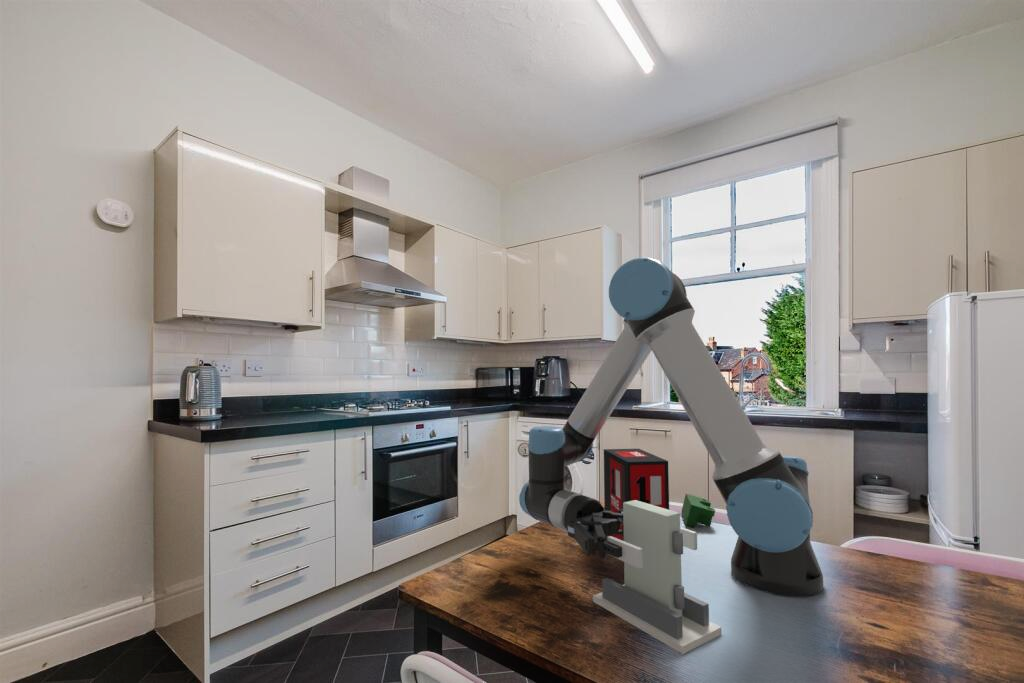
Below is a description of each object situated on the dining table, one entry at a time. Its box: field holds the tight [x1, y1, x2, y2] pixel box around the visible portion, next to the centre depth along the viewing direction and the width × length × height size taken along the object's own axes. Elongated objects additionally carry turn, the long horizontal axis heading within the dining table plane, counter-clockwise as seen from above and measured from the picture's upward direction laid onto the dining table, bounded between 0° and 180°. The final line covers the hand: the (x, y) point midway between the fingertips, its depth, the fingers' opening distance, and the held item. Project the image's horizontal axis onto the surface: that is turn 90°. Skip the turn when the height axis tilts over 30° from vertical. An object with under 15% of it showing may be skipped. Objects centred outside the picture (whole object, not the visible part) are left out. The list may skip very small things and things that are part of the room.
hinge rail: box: [592, 577, 723, 655], centre depth 75 cm, size 18×9×4 cm, turn 33°
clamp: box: [681, 493, 716, 528], centre depth 123 cm, size 12×6×9 cm, turn 161°
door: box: [623, 500, 685, 615], centre depth 75 cm, size 10×3×16 cm, turn 33°
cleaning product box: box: [603, 448, 670, 541], centre depth 108 cm, size 16×9×20 cm, turn 7°
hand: (669, 549), depth 73 cm, fingers open, 12 cm apart
